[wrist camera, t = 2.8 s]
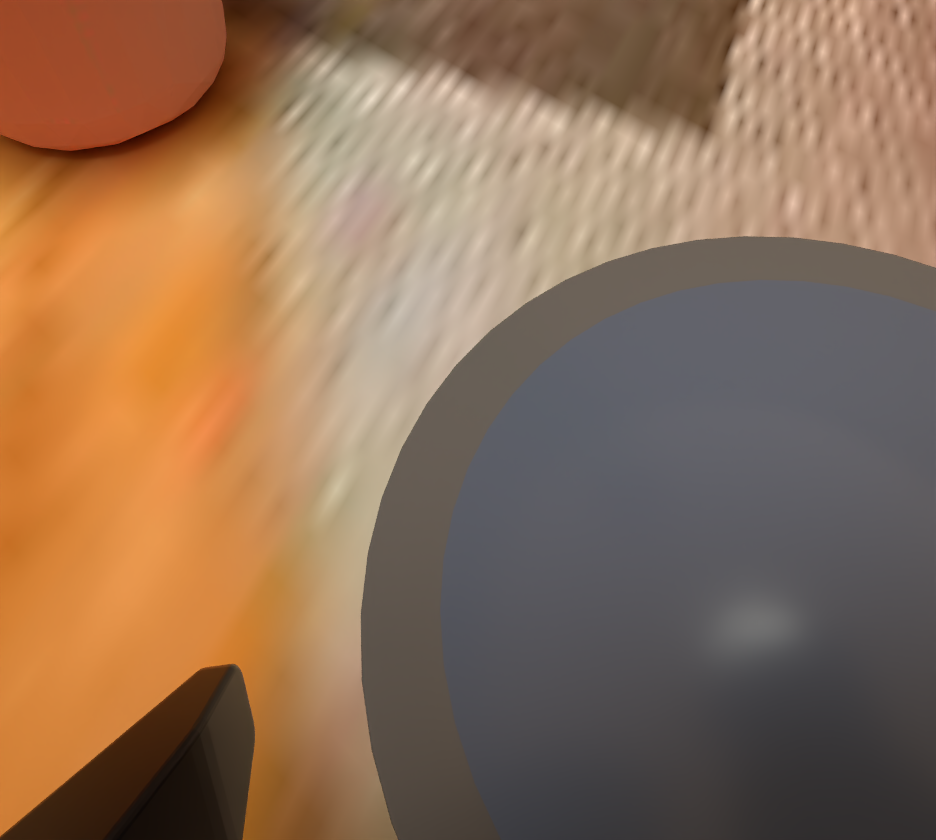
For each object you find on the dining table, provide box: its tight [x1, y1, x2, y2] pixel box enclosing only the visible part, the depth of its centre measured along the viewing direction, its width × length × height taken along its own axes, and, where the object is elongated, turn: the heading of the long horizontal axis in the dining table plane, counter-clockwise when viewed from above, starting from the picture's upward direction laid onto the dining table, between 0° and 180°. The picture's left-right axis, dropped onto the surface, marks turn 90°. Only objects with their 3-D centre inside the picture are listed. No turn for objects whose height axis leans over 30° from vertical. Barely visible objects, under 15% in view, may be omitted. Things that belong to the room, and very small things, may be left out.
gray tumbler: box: [361, 236, 936, 840], centre depth 9 cm, size 5×5×13 cm
